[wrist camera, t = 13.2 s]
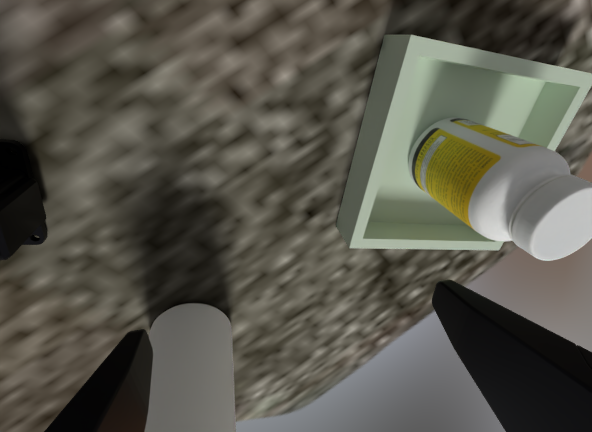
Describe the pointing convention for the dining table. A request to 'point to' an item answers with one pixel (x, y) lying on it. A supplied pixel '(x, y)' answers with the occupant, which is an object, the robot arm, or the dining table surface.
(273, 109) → the dining table surface
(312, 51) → the dining table surface
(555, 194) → the supplement bottle
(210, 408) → the can
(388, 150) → the tray
